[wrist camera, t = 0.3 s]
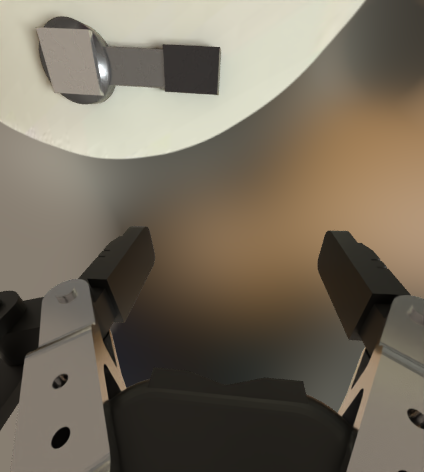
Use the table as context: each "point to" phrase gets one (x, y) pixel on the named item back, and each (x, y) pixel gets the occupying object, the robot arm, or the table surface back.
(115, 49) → the grey paddle-shaped piece
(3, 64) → the table surface
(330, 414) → the robot arm
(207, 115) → the table surface
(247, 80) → the table surface
